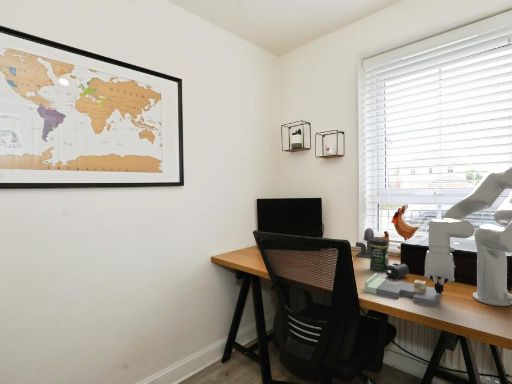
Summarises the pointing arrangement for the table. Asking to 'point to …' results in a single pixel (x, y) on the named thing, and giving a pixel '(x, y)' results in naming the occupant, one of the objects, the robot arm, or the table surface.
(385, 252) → the coffee jar
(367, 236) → the faucet
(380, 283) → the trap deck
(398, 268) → the dark grey motor
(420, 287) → the maple block
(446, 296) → the table surface
